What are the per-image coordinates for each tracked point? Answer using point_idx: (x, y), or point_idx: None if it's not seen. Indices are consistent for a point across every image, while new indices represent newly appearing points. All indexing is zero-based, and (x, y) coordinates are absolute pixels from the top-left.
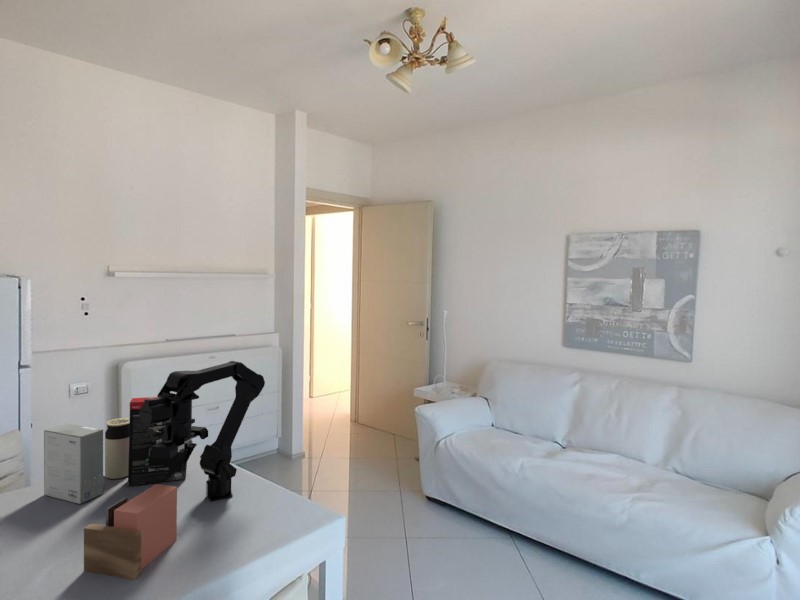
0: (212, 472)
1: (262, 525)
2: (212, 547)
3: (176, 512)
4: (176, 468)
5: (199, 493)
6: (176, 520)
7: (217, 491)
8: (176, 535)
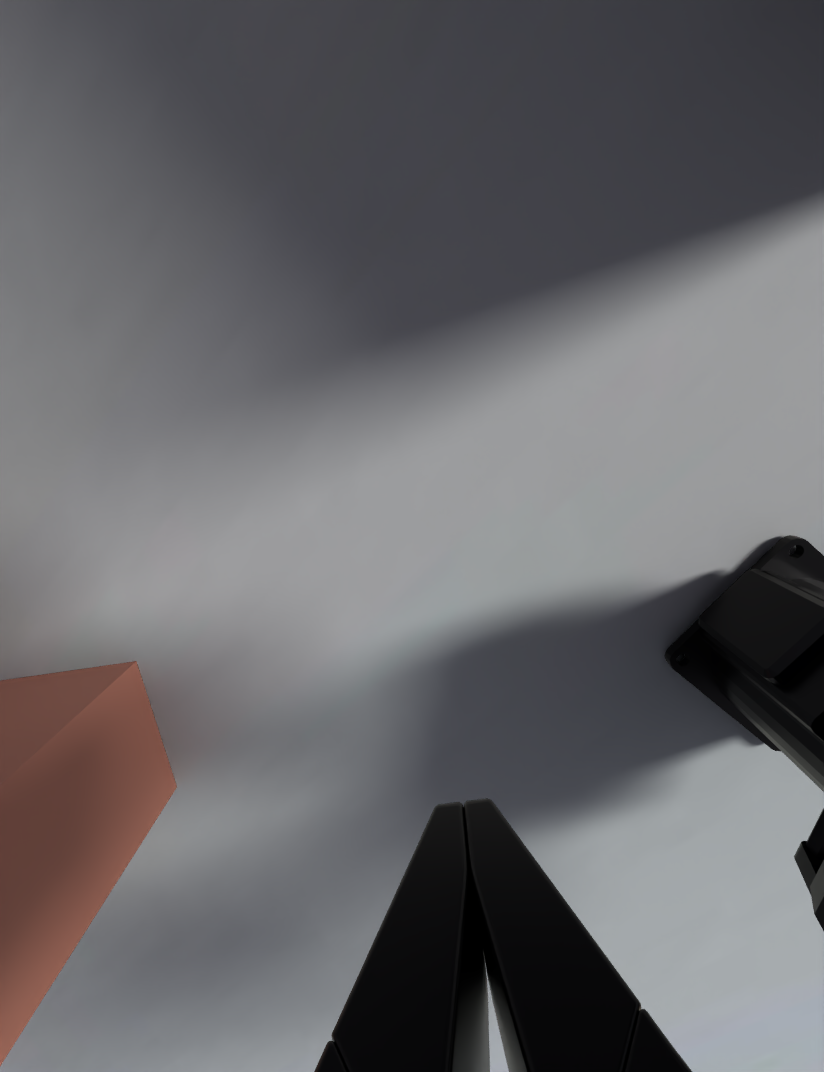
0: (822, 887)
1: (501, 1053)
2: (221, 972)
3: (58, 969)
4: (414, 852)
5: (764, 480)
6: (101, 902)
7: (744, 710)
8: (162, 809)
